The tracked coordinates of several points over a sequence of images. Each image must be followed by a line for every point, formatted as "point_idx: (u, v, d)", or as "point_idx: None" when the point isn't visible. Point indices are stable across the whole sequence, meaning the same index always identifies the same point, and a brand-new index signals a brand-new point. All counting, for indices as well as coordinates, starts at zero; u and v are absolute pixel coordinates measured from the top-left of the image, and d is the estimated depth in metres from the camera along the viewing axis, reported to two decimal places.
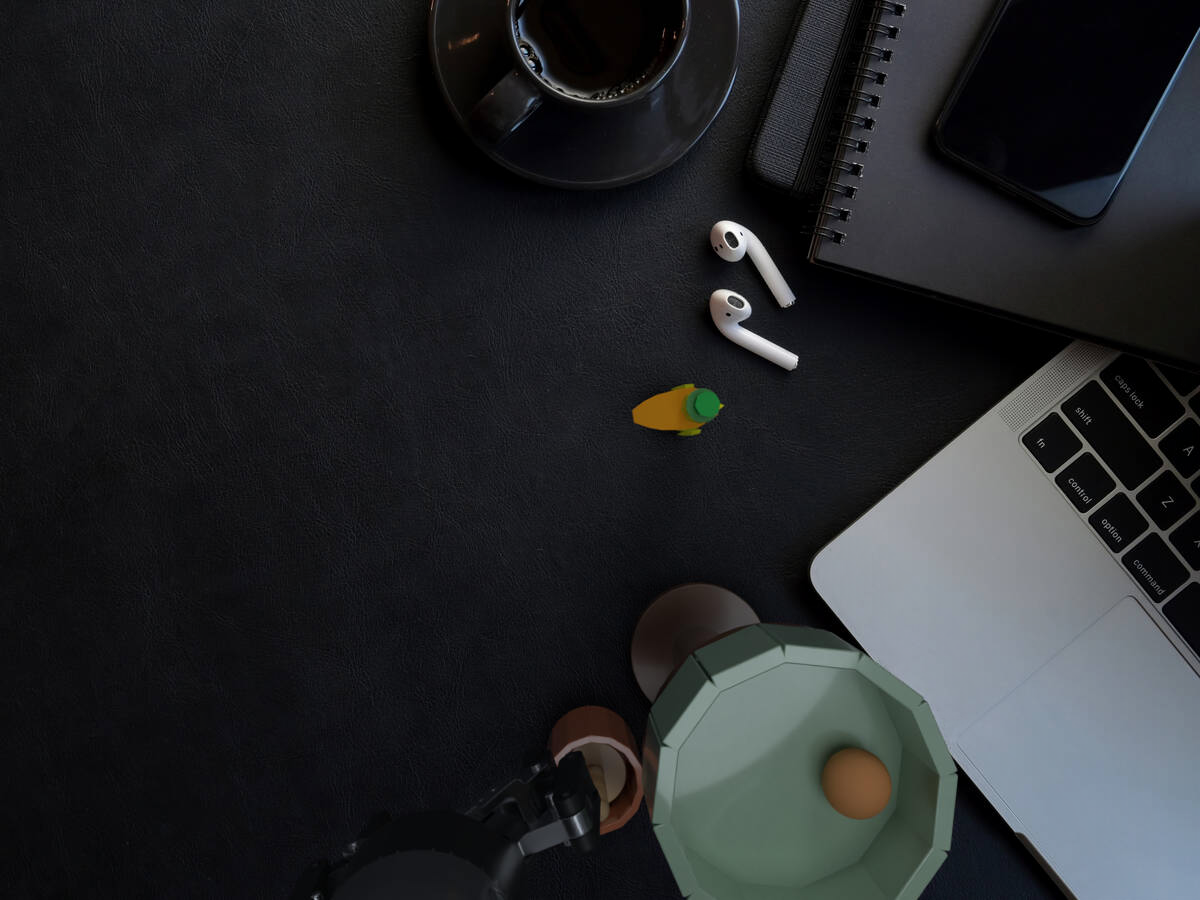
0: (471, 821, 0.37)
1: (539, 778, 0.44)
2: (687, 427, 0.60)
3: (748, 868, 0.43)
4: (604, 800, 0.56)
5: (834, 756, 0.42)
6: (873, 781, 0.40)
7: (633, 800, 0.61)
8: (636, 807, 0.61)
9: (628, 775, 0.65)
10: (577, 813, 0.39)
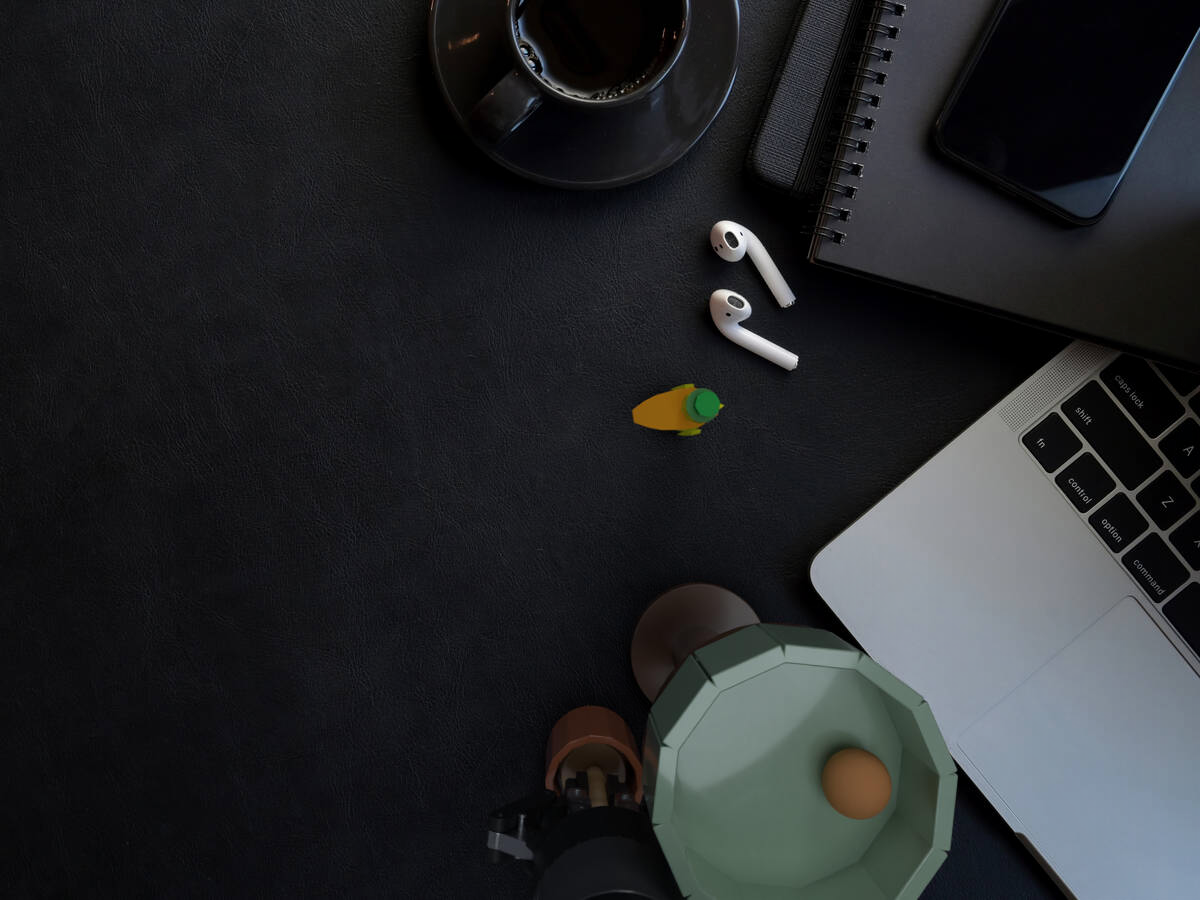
0: None
1: None
2: (687, 427, 0.60)
3: (748, 868, 0.43)
4: (604, 800, 0.56)
5: (834, 756, 0.42)
6: (873, 781, 0.40)
7: None
8: None
9: (628, 775, 0.65)
10: None
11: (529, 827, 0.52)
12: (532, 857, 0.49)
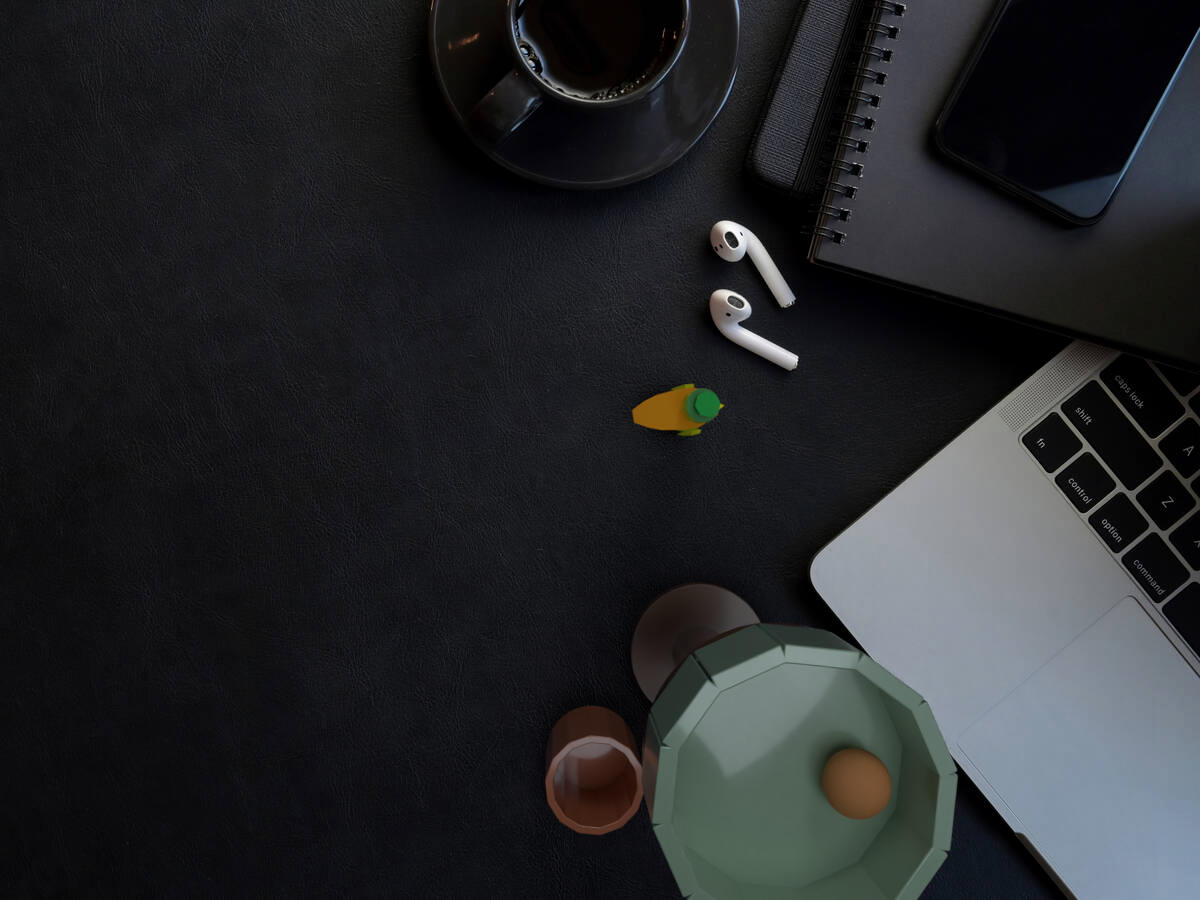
0: None
1: None
2: (687, 427, 0.60)
3: (748, 868, 0.43)
4: None
5: (834, 756, 0.42)
6: (873, 781, 0.40)
7: (633, 800, 0.61)
8: (636, 807, 0.61)
9: (628, 775, 0.65)
10: None
11: None
12: None
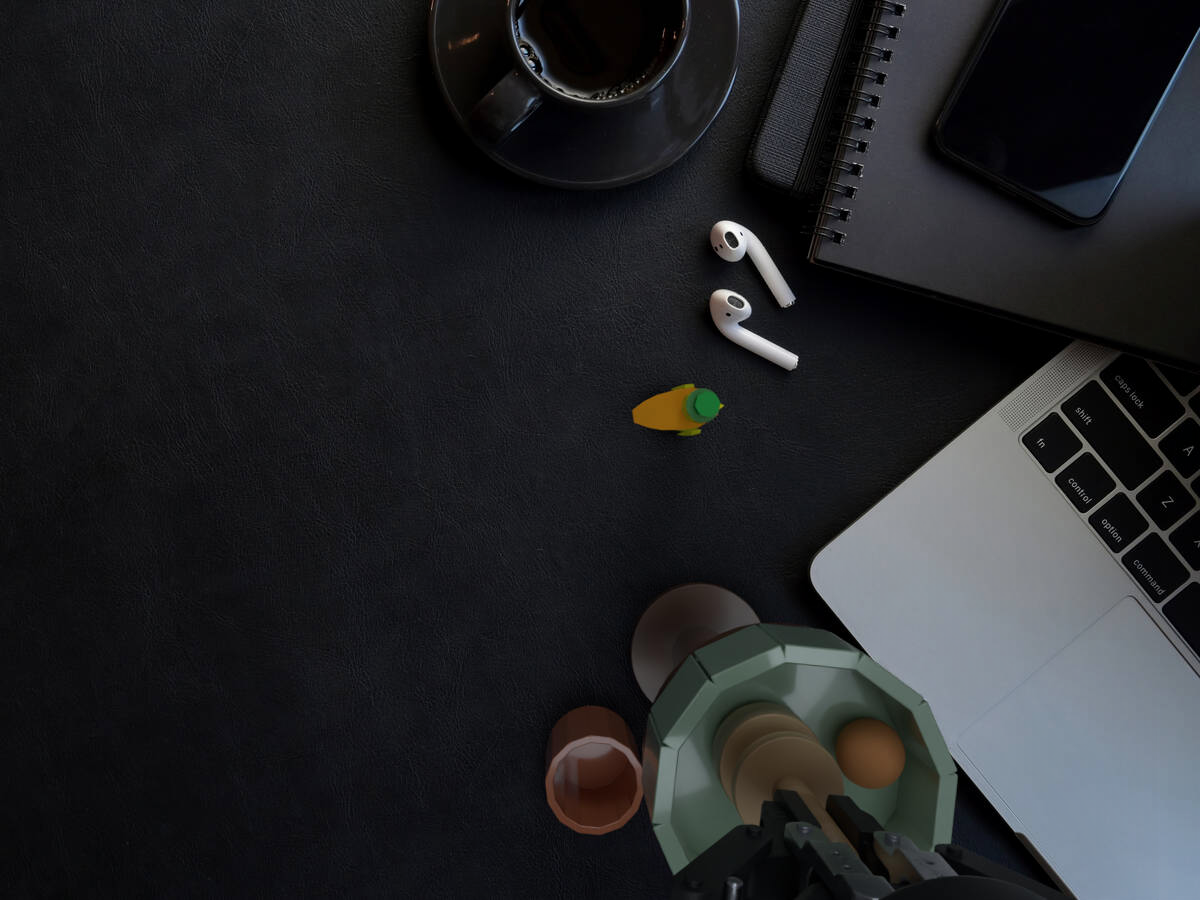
0: None
1: None
2: (687, 427, 0.60)
3: None
4: (850, 844, 0.31)
5: (885, 728, 0.41)
6: (899, 775, 0.41)
7: (633, 800, 0.61)
8: (636, 807, 0.61)
9: (628, 775, 0.65)
10: None
11: None
12: None
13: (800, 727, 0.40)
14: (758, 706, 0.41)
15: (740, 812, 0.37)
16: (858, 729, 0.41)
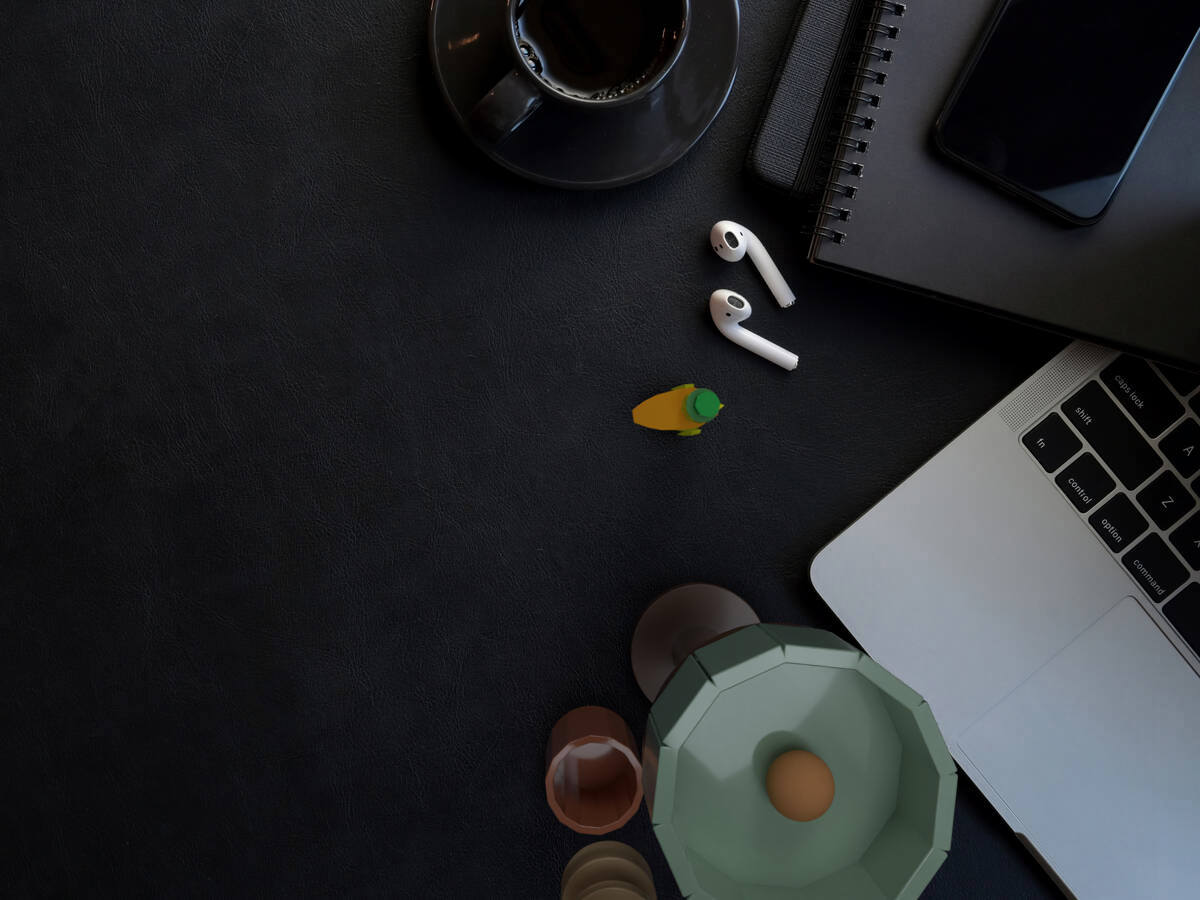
0: None
1: None
2: (687, 427, 0.60)
3: (748, 868, 0.43)
4: None
5: (770, 778, 0.41)
6: None
7: (633, 800, 0.61)
8: (636, 807, 0.61)
9: (628, 775, 0.65)
10: None
11: None
12: None
13: (633, 869, 0.44)
14: (601, 846, 0.46)
15: None
16: (779, 756, 0.42)
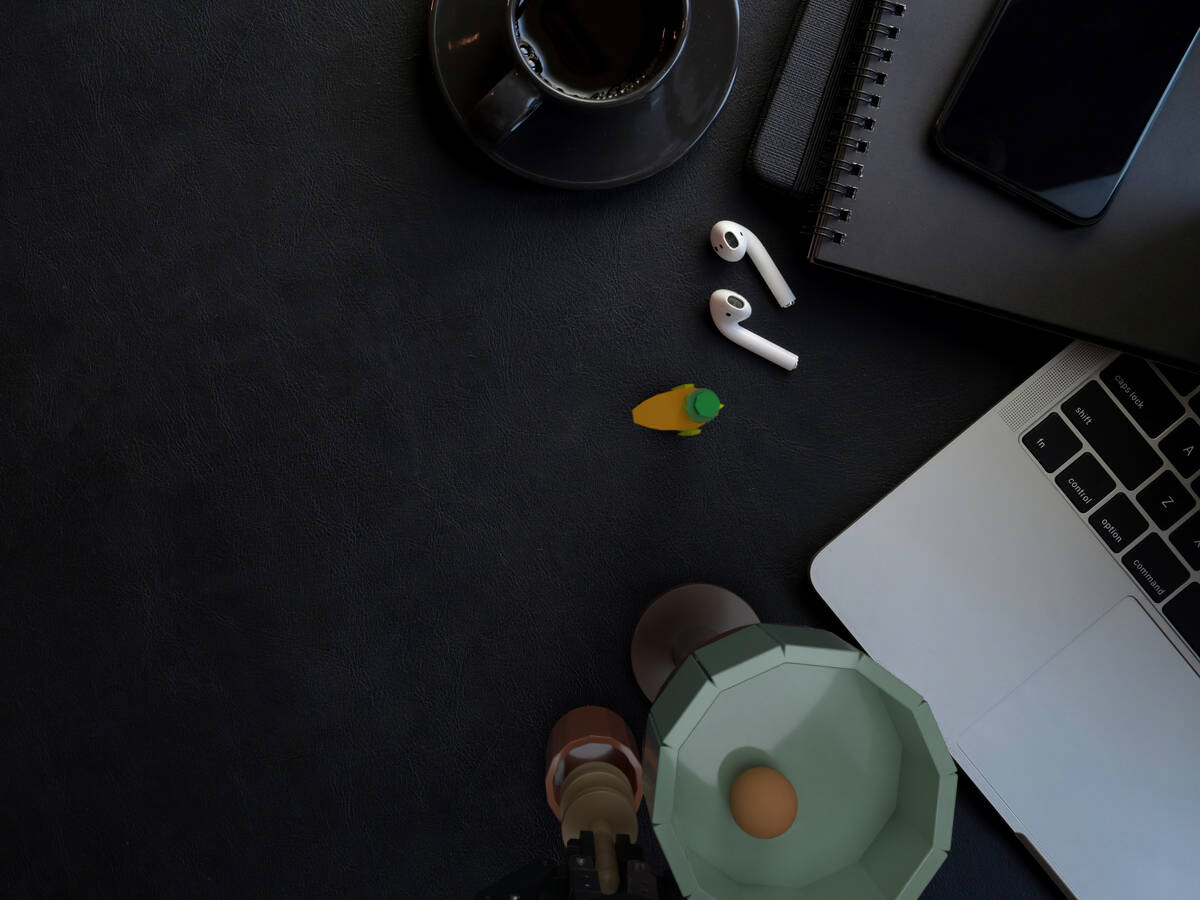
0: None
1: None
2: (687, 427, 0.60)
3: (748, 868, 0.43)
4: (614, 869, 0.47)
5: None
6: None
7: None
8: (636, 807, 0.61)
9: (628, 775, 0.65)
10: None
11: None
12: None
13: (617, 781, 0.56)
14: (591, 765, 0.58)
15: (565, 843, 0.53)
16: (755, 768, 0.42)
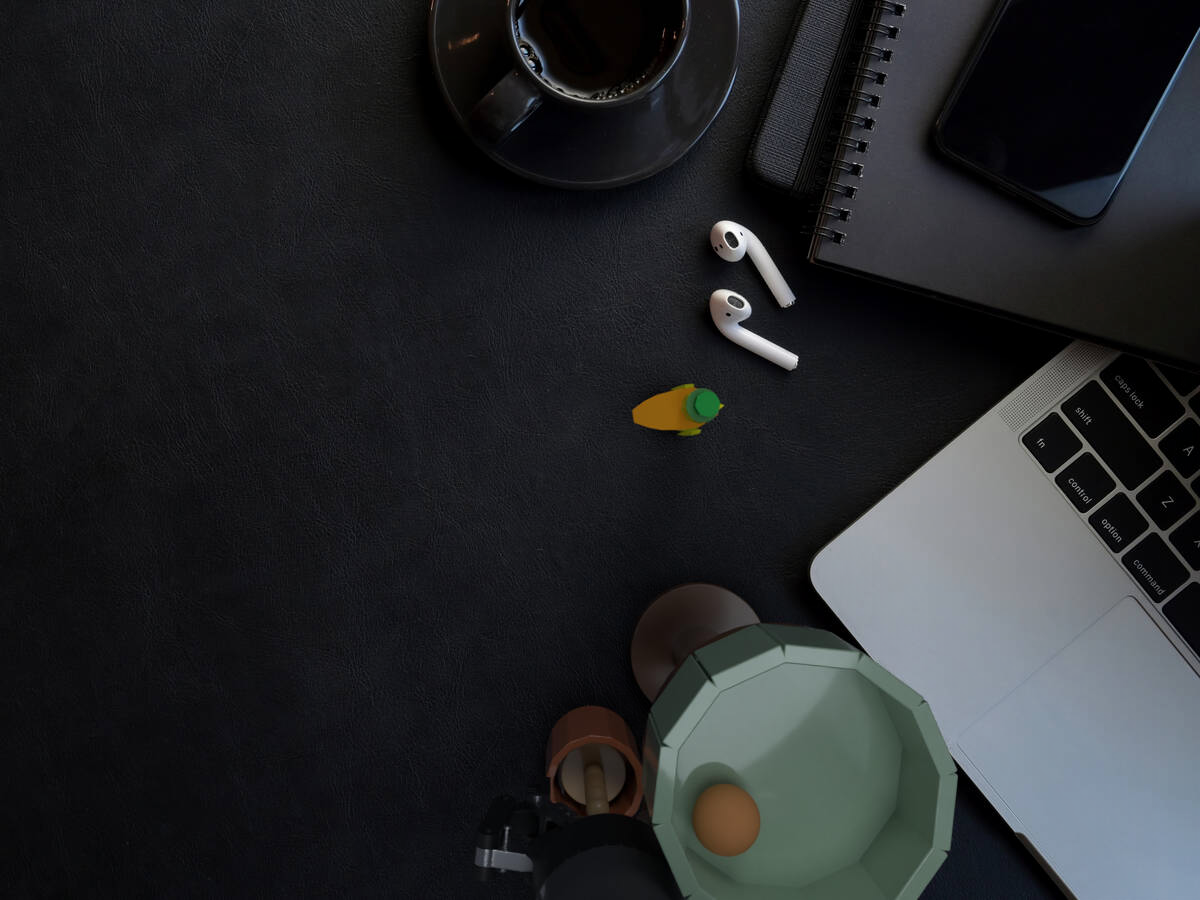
0: None
1: None
2: (687, 427, 0.60)
3: (748, 868, 0.43)
4: (604, 799, 0.56)
5: None
6: None
7: (633, 800, 0.61)
8: (636, 807, 0.61)
9: (628, 775, 0.65)
10: None
11: (513, 838, 0.50)
12: None
13: None
14: None
15: (564, 785, 0.63)
16: (724, 787, 0.41)
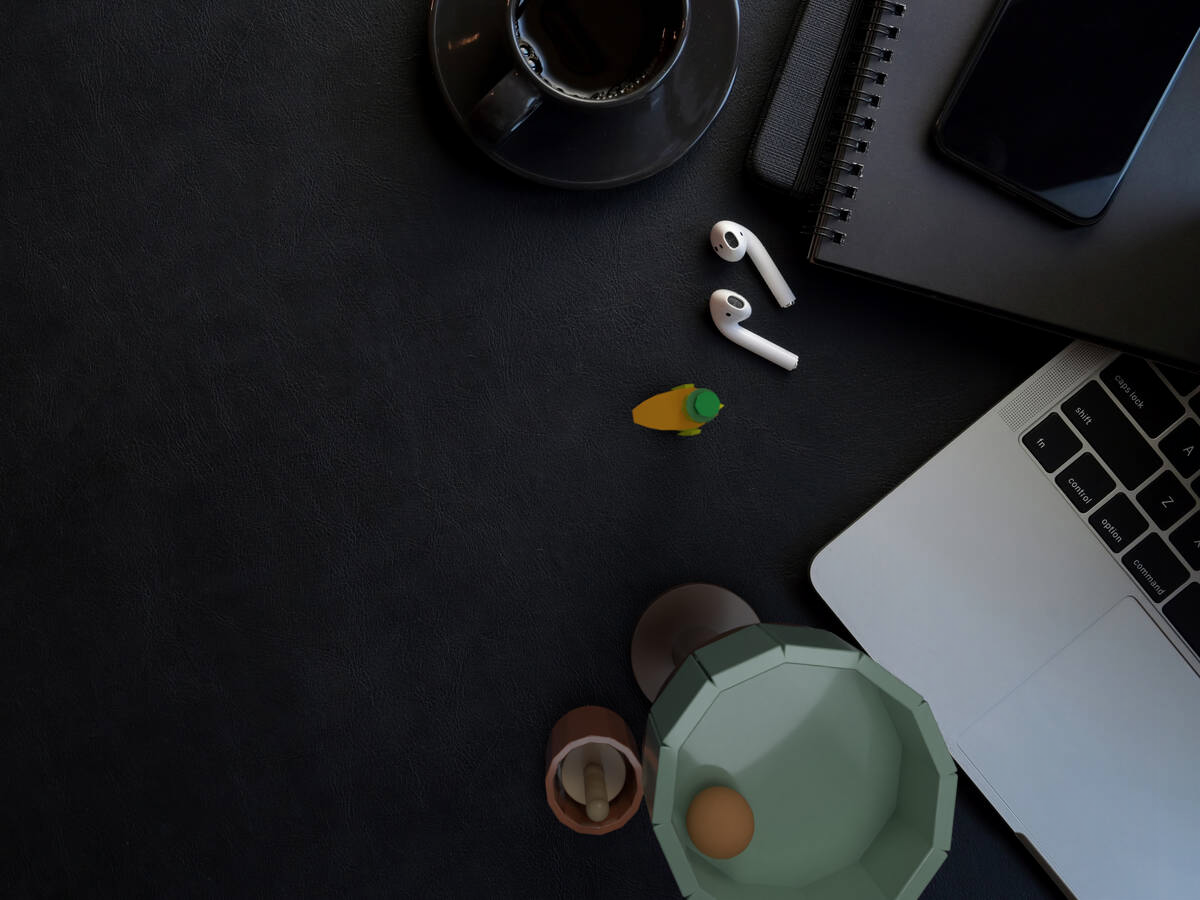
0: None
1: None
2: (687, 427, 0.60)
3: (748, 868, 0.43)
4: (604, 799, 0.56)
5: None
6: None
7: (633, 800, 0.61)
8: (636, 807, 0.61)
9: (628, 775, 0.65)
10: None
11: None
12: None
13: None
14: None
15: (564, 785, 0.63)
16: (718, 791, 0.41)
